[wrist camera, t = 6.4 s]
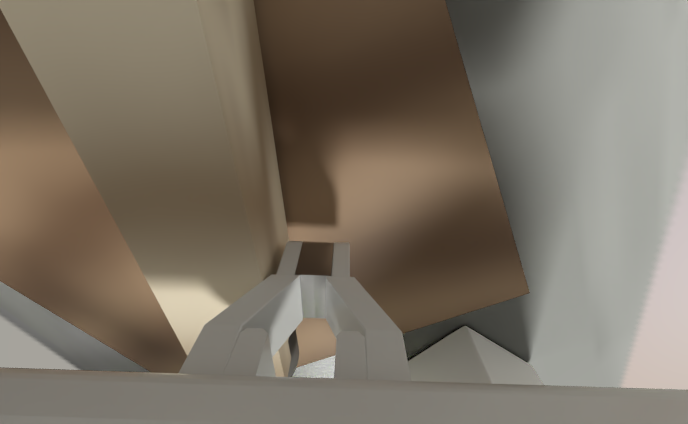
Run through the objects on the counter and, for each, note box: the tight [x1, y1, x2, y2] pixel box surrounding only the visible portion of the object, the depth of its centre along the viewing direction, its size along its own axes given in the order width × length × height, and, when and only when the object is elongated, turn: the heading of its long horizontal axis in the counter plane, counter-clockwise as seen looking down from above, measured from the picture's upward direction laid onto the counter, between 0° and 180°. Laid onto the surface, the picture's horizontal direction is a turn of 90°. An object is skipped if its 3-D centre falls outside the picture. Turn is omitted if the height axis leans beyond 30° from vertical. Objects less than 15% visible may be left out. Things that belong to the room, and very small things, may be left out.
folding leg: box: [0, 0, 299, 377], centre depth 7 cm, size 17×4×3 cm, turn 1°
